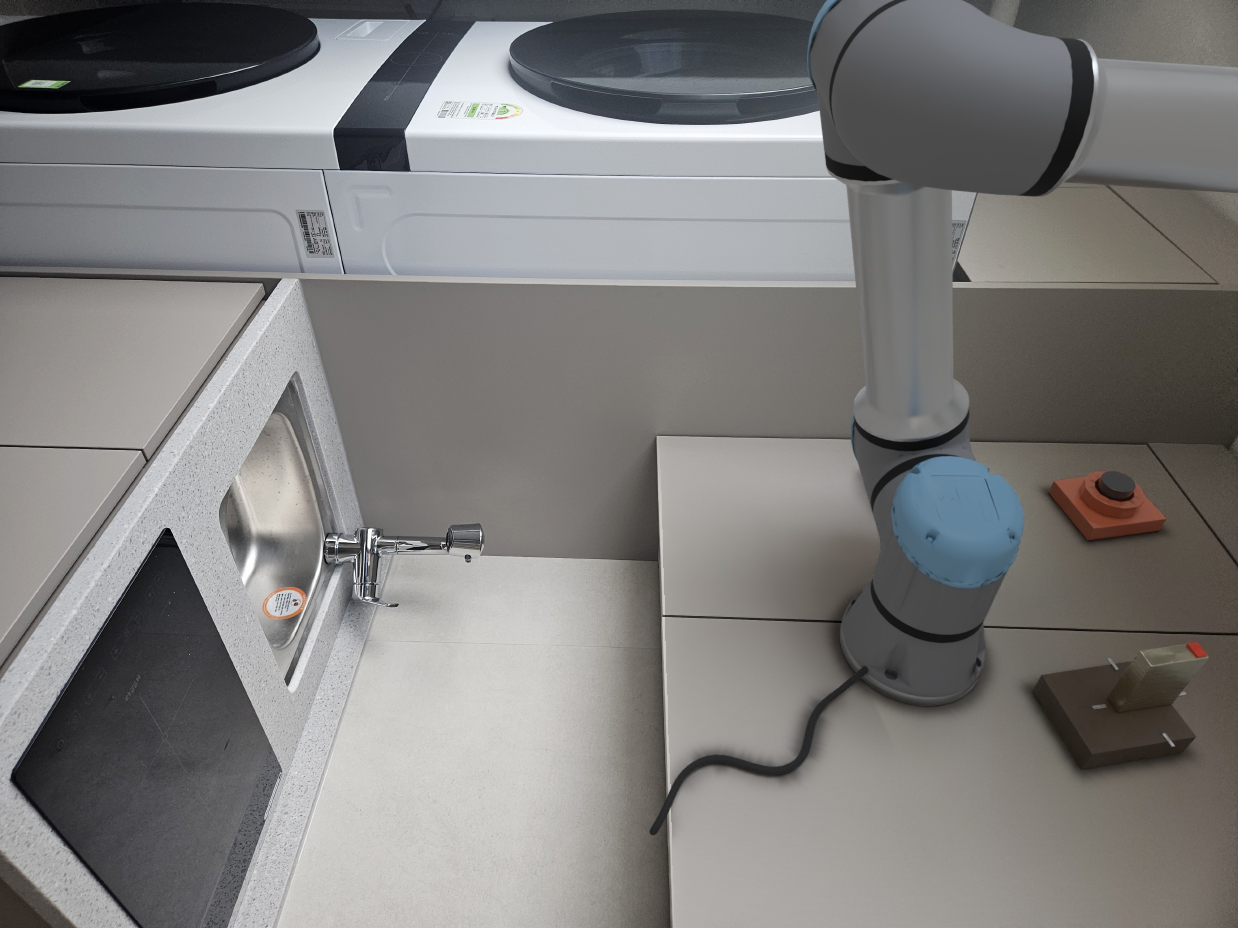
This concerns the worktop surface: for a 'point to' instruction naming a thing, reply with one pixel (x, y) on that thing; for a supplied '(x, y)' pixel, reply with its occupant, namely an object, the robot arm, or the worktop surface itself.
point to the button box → (1105, 509)
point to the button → (1116, 486)
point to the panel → (1107, 718)
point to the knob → (1157, 676)
